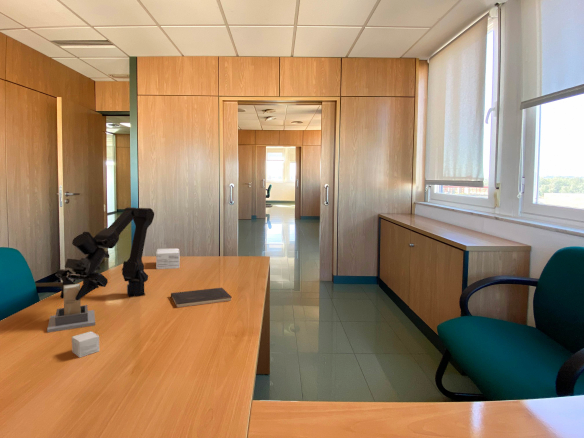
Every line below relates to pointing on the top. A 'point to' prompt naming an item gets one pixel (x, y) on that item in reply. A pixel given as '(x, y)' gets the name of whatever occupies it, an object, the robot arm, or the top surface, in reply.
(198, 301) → the hardcover book
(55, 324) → the holder
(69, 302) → the box
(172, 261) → the supplement box
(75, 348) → the small box
